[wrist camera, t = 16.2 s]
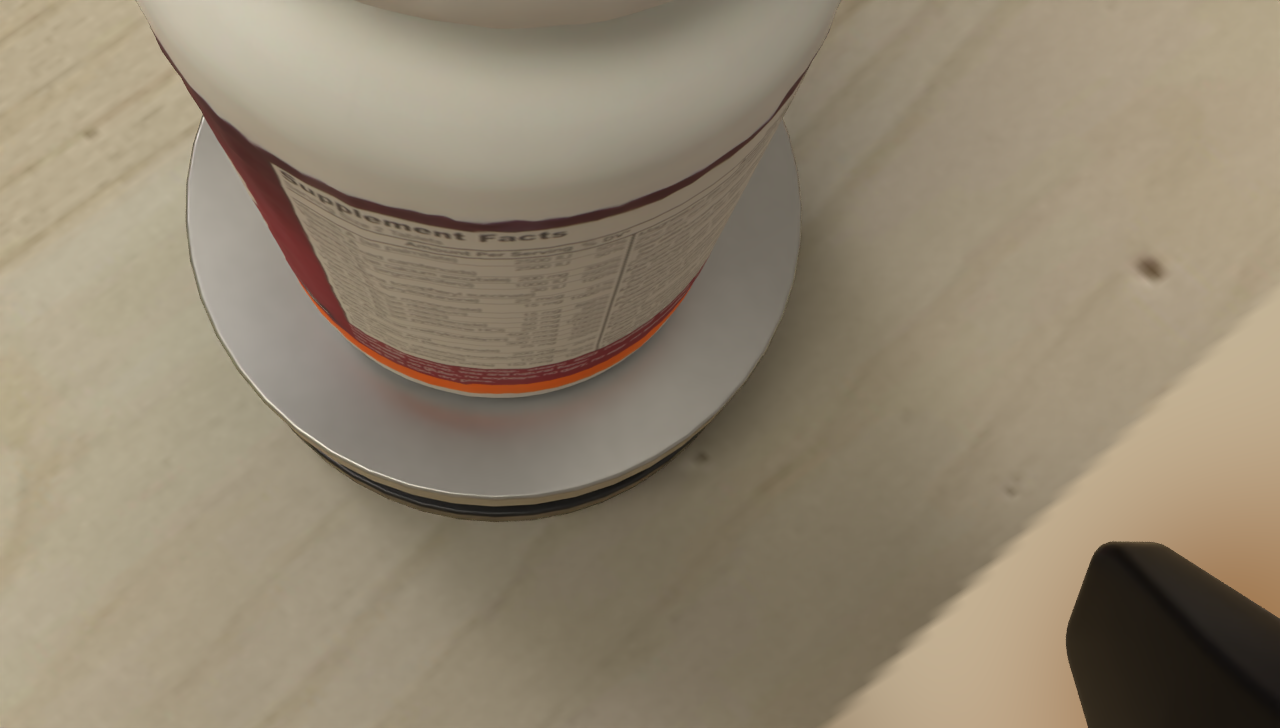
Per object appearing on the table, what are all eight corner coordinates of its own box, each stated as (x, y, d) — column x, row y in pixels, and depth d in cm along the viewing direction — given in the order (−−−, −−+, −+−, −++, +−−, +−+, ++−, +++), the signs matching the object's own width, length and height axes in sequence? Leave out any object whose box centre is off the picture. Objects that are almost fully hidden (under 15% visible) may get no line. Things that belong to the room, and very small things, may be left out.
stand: (856, 362, 20) (914, 314, 17) (388, 626, 18) (365, 622, 15) (601, -52, 21) (616, -160, 19) (141, 154, 20) (78, 69, 17)
